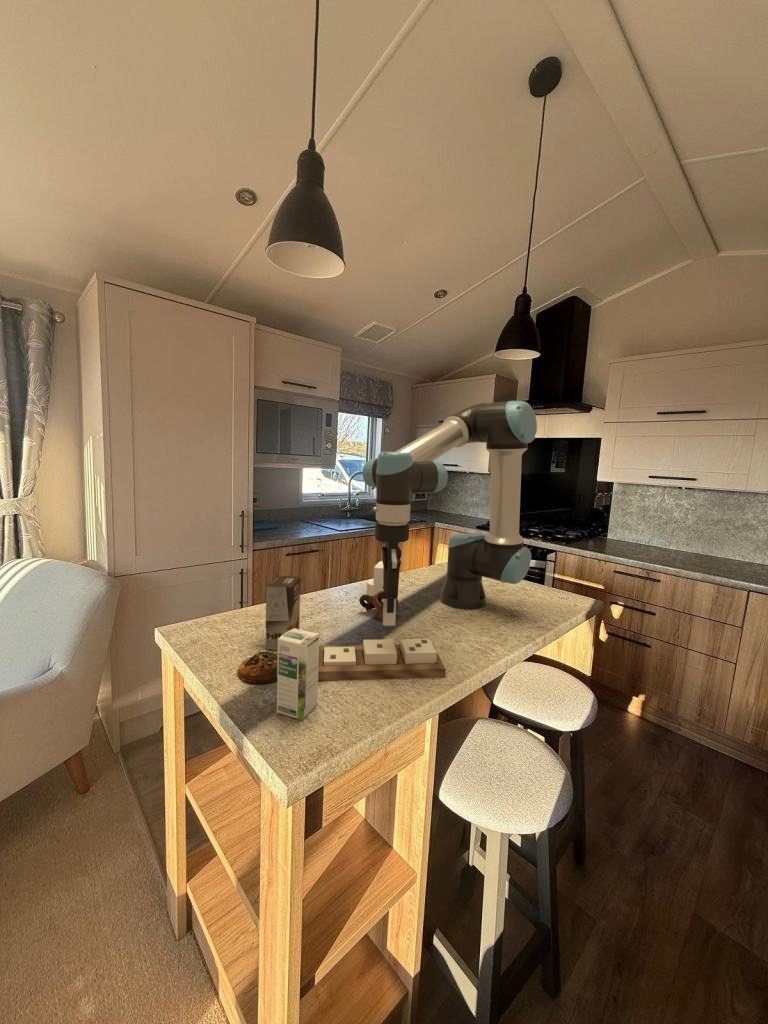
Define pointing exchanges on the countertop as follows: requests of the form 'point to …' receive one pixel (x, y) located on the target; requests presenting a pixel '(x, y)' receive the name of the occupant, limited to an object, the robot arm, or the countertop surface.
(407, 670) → the board
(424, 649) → the tile three
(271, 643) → the coffee box
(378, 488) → the robot arm
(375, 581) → the base with upright slab
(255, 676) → the bread roll
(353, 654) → the tile two
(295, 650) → the syrup box
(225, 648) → the countertop surface
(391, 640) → the tile one
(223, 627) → the countertop surface
